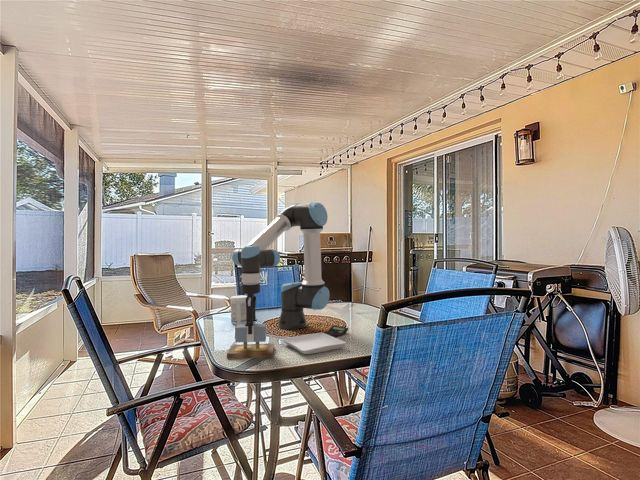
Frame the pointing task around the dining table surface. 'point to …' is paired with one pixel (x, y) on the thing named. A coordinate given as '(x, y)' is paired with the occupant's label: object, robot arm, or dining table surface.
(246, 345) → the board
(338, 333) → the calculator
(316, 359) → the dining table surface
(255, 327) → the block
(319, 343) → the salad plate
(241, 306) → the supplement tub
